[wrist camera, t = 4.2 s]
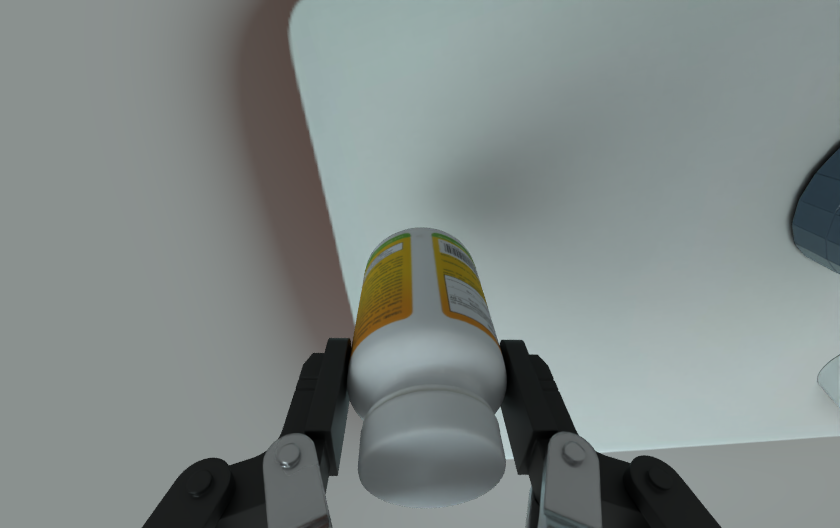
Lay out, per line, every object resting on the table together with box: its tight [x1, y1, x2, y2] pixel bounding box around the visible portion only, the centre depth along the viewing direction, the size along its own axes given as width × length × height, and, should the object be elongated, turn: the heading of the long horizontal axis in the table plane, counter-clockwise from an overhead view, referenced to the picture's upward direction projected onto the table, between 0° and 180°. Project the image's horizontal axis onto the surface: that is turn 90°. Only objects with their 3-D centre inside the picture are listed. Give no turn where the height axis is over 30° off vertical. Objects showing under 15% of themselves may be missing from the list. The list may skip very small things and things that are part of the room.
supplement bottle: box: [347, 228, 507, 508], centre depth 14 cm, size 5×5×10 cm
